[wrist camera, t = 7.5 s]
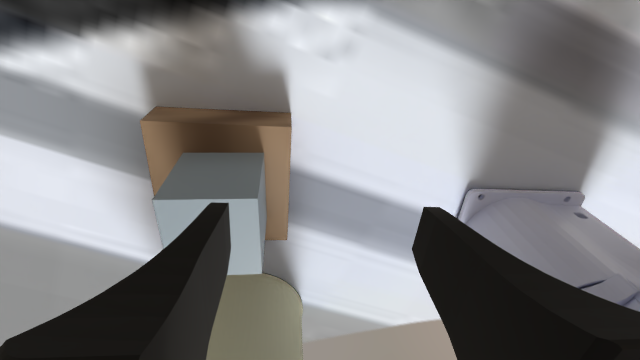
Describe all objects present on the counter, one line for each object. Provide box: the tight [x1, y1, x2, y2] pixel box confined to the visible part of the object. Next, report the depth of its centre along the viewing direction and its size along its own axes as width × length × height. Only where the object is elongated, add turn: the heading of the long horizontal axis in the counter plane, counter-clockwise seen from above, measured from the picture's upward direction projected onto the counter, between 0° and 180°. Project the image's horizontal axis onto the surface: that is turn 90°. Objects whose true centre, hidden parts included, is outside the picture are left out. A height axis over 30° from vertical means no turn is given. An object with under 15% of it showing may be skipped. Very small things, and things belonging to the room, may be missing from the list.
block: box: [152, 153, 267, 275], centre depth 18 cm, size 4×4×5 cm
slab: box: [140, 107, 291, 240], centre depth 21 cm, size 8×8×3 cm
